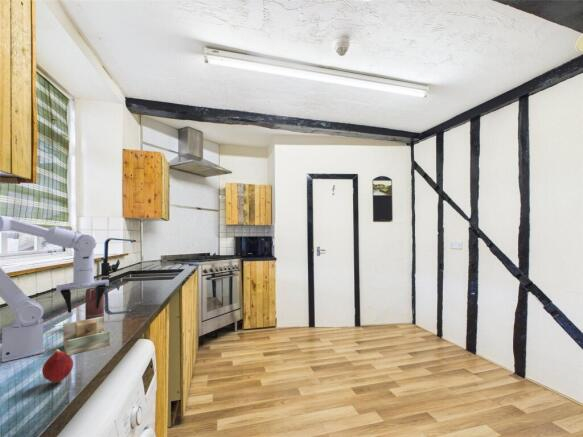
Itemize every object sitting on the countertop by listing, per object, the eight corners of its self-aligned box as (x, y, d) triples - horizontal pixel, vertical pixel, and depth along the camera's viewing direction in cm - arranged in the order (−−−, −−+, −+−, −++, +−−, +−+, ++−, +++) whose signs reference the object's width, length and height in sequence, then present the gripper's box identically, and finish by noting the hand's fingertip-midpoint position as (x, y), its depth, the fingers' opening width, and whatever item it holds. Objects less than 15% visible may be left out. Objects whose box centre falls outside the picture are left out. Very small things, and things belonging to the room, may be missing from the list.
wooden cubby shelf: (66, 355, 87) (67, 331, 87) (63, 345, 94) (63, 323, 94) (109, 344, 94) (109, 322, 94) (103, 336, 101) (103, 316, 102)
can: (82, 327, 112) (82, 290, 112) (88, 322, 118) (89, 287, 118) (100, 325, 113) (100, 289, 114) (106, 320, 120) (106, 286, 120)
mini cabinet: (77, 345, 91) (77, 326, 91) (75, 341, 95) (75, 322, 96) (96, 341, 95) (96, 322, 95) (93, 337, 99) (93, 319, 99)
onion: (78, 376, 74) (78, 344, 74) (61, 388, 68) (61, 354, 69) (54, 377, 74) (55, 345, 74) (35, 389, 68) (36, 354, 68)
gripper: (57, 273, 92) (57, 316, 92) (110, 268, 102) (110, 307, 102) (56, 271, 98) (55, 312, 97) (106, 266, 107) (106, 304, 107)
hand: (83, 309), depth 100 cm, fingers open, 7 cm apart
